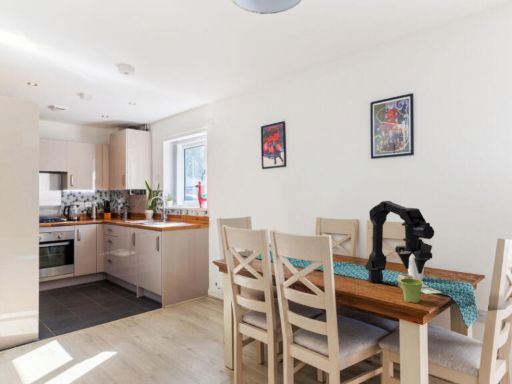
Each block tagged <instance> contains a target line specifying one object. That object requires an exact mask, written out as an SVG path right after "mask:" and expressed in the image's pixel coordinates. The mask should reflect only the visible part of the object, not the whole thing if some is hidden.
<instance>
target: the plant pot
mask: <svg viewBox="0 0 512 384" xmlns="http://www.w3.org/2000/svg"><path fill="white" fill-rule="evenodd" d="M400 282H401V285H402V288H403V289H402V288H401V289H402V293H403V300H404V301H405V302H407V303H413V304H416V303H417V304H419V303H420V300H421V293H422V292H421V287H422V284H423V285H424V281H423V280H418V279H410V278H405V279H401V280H400Z"/></svg>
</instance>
